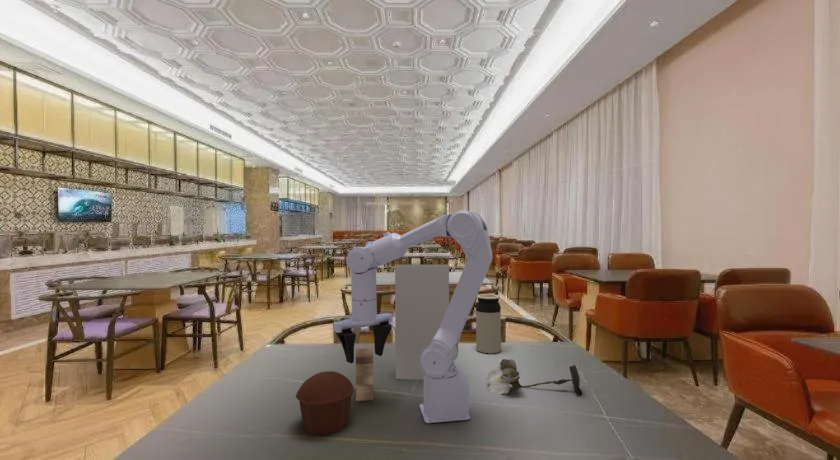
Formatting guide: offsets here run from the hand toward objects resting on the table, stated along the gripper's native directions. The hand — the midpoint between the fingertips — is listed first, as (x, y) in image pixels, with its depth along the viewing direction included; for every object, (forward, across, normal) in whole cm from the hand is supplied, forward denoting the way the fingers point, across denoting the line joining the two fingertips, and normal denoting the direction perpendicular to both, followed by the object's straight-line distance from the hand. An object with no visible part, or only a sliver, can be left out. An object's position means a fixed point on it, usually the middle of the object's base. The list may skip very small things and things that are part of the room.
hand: (364, 358), depth 88 cm
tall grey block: (+10, -21, -4) cm, 24 cm away
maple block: (+10, -2, -4) cm, 11 cm away
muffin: (+10, +11, +3) cm, 15 cm away
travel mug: (+11, -51, -7) cm, 53 cm away
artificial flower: (+11, -35, +21) cm, 42 cm away
